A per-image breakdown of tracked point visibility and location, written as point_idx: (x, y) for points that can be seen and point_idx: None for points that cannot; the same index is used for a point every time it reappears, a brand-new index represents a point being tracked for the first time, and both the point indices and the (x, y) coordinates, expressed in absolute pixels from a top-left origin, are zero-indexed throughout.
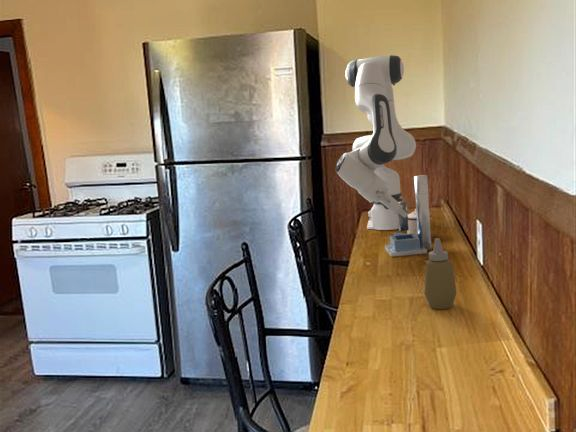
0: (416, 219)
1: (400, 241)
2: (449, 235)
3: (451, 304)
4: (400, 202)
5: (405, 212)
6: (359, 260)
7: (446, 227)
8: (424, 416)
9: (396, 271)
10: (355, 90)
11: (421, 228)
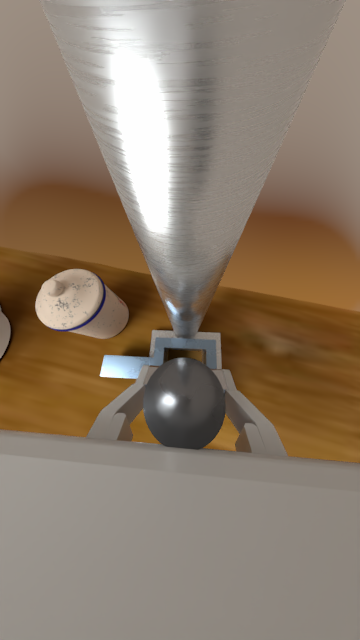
0: (100, 310)
1: None
2: (119, 269)
3: None
4: (198, 419)
5: (233, 382)
6: None
7: (65, 258)
8: None
9: (343, 434)
10: None
11: (200, 324)
